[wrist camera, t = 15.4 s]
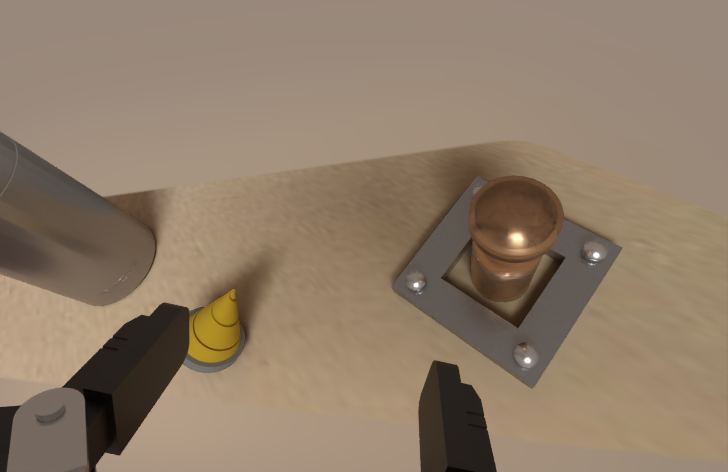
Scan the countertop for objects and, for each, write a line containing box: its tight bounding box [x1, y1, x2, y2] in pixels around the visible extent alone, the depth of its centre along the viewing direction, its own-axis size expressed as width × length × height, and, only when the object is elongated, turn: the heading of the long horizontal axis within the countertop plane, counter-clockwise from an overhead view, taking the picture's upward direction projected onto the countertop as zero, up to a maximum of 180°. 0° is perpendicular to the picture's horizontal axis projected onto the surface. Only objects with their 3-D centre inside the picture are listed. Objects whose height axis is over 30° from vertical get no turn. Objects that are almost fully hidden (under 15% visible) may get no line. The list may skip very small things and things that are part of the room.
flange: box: [391, 176, 622, 389], centre depth 30 cm, size 12×12×2 cm
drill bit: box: [183, 289, 245, 373], centre depth 31 cm, size 5×5×10 cm
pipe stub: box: [468, 176, 564, 302], centre depth 27 cm, size 5×5×10 cm
